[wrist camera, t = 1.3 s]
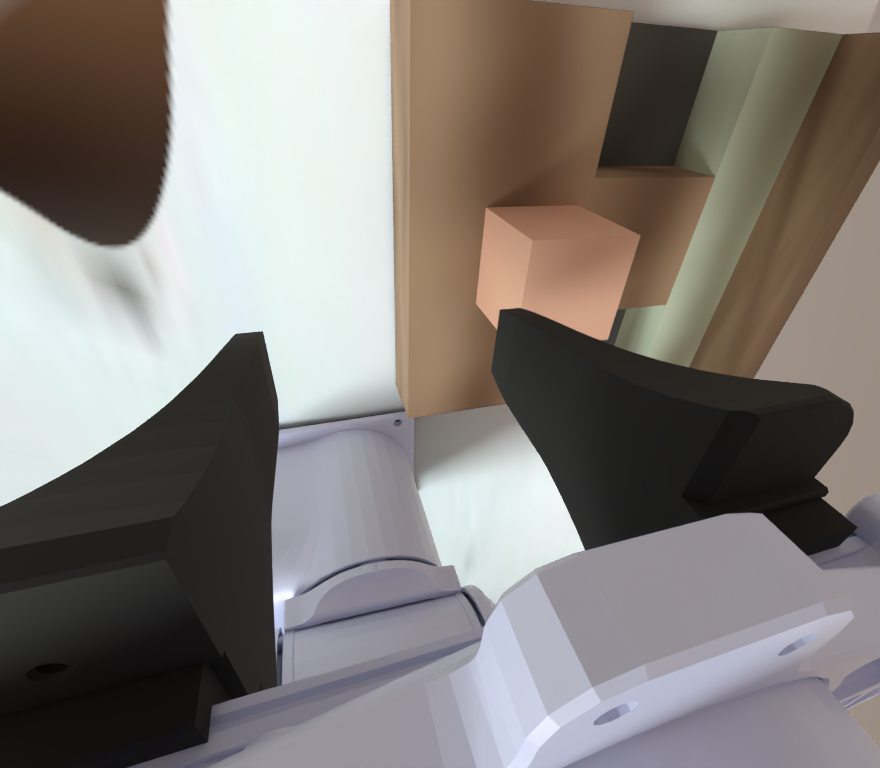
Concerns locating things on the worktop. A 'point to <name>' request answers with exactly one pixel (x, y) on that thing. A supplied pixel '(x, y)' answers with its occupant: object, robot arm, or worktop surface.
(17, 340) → the worktop surface
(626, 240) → the block
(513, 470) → the worktop surface
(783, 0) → the worktop surface
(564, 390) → the robot arm
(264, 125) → the worktop surface
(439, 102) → the board
